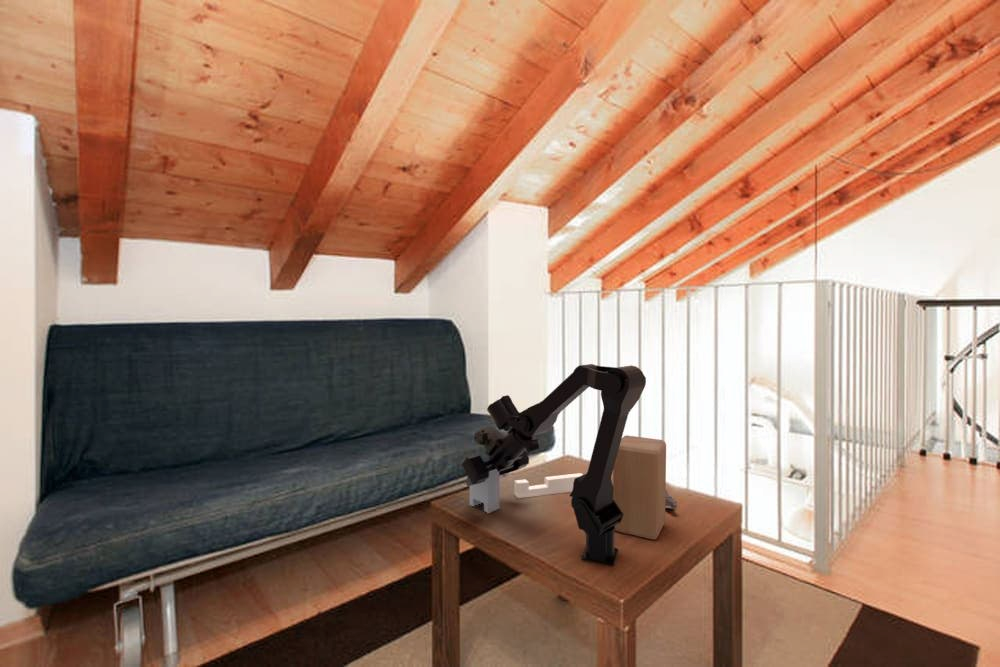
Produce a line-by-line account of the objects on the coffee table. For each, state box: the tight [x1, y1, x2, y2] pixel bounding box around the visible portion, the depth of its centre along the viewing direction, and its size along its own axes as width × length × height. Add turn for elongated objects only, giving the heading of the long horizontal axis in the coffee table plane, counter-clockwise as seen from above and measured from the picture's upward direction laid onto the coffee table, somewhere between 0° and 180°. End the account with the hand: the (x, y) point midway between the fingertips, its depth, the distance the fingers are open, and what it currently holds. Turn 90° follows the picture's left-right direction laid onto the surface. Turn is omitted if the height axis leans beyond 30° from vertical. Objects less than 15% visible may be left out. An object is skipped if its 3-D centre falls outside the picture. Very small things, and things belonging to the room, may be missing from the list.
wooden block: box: [612, 434, 667, 540], centre depth 105 cm, size 10×10×20 cm
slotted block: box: [469, 469, 500, 514], centre depth 117 cm, size 7×4×10 cm, turn 45°
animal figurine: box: [665, 489, 678, 510], centre depth 117 cm, size 12×4×5 cm, turn 5°
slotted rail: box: [514, 472, 584, 499], centre depth 127 cm, size 2×20×4 cm, turn 107°
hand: (480, 479), depth 118 cm, fingers open, 9 cm apart
